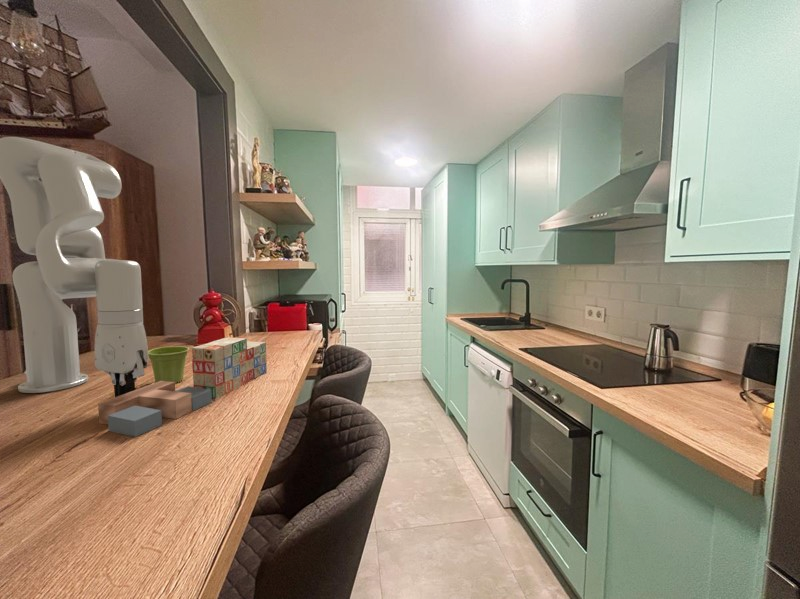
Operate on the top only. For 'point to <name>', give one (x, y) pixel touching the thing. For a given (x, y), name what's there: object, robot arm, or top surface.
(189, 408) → the t block
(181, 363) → the plant pot
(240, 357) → the stack of blocks
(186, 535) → the top surface
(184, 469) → the top surface
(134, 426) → the t dock
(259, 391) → the top surface
